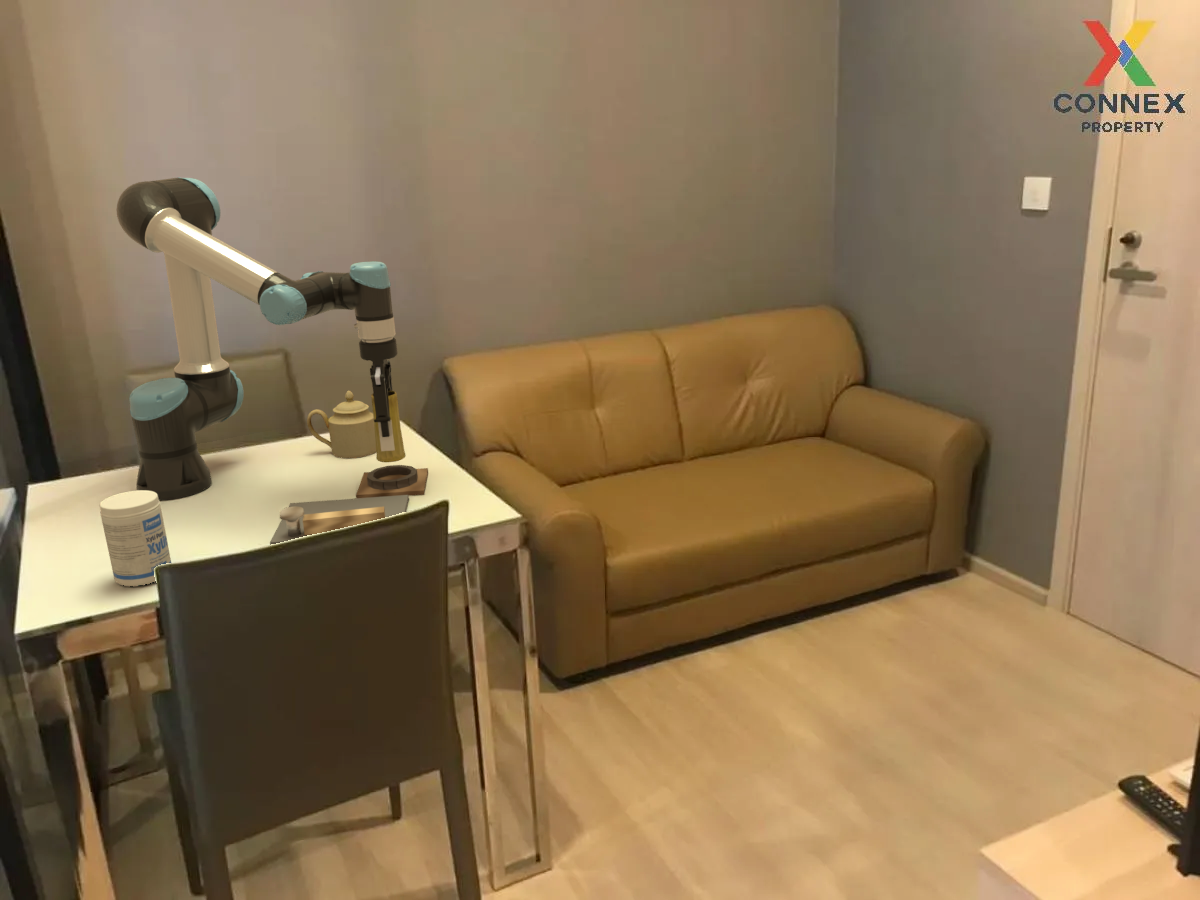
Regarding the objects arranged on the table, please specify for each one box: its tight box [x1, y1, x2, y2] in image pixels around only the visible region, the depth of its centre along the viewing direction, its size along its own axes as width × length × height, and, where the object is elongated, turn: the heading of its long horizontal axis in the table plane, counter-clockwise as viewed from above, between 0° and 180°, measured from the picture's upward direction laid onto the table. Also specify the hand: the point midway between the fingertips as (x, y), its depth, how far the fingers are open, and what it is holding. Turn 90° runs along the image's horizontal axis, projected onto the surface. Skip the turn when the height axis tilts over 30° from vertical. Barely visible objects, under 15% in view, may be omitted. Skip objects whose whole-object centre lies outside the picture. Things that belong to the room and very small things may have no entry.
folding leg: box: [278, 506, 385, 535], centre depth 191 cm, size 19×4×5 cm, turn 101°
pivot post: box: [286, 518, 301, 537], centre depth 190 cm, size 2×2×4 cm
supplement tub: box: [99, 489, 172, 587], centre depth 175 cm, size 10×10×15 cm
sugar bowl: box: [306, 390, 377, 459], centre depth 237 cm, size 15×11×15 cm
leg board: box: [269, 495, 410, 545], centre depth 198 cm, size 24×20×1 cm
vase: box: [370, 390, 407, 463], centre depth 212 cm, size 6×6×14 cm
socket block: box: [355, 464, 429, 498], centre depth 216 cm, size 14×14×3 cm
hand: (389, 445), depth 214 cm, fingers closed on vase, 6 cm apart
